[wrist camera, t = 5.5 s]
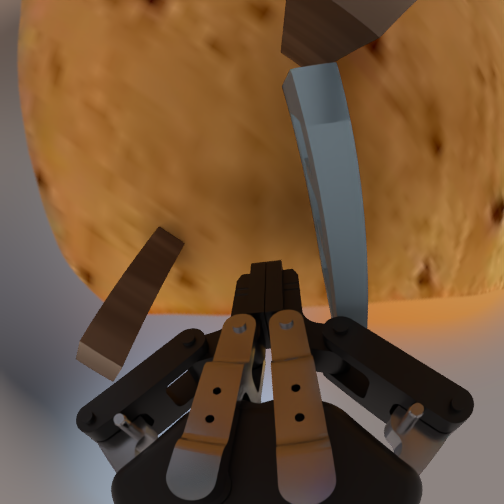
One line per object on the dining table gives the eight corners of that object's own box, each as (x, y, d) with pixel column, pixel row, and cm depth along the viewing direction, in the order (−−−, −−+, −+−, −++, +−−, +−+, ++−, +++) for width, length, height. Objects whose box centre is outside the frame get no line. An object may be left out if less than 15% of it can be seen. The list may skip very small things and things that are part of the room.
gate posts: (304, 26, 12) (346, -69, 2) (335, 49, 13) (427, -10, 3) (147, 247, 22) (75, 359, 12) (171, 263, 23) (112, 381, 13)
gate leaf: (282, 86, 14) (290, 69, 6) (302, 82, 13) (336, 61, 5) (322, 270, 20) (341, 380, 12) (337, 267, 20) (363, 376, 12)
